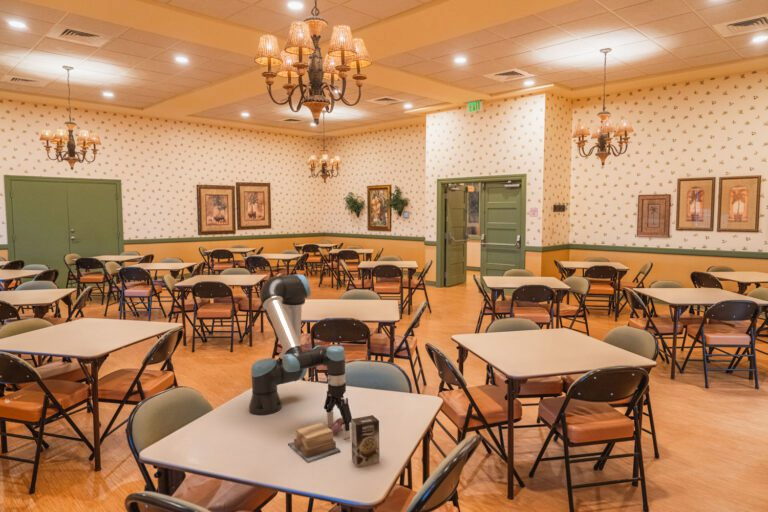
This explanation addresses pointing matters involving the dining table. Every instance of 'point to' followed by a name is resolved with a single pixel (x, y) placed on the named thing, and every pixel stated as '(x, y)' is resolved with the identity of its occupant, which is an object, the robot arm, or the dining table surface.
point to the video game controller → (337, 425)
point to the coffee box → (365, 440)
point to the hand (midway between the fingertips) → (338, 432)
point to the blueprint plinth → (314, 442)
